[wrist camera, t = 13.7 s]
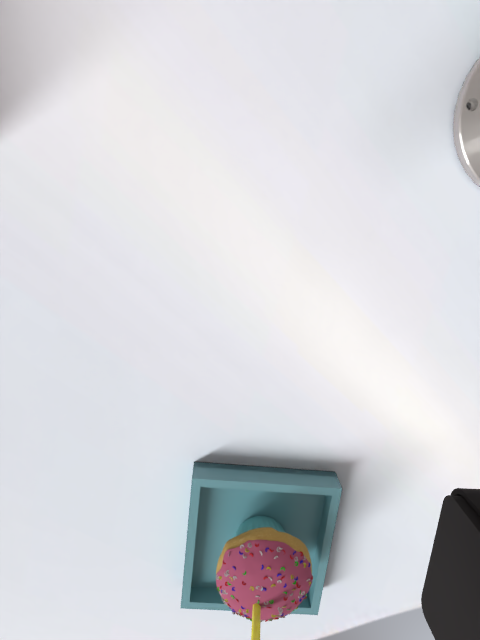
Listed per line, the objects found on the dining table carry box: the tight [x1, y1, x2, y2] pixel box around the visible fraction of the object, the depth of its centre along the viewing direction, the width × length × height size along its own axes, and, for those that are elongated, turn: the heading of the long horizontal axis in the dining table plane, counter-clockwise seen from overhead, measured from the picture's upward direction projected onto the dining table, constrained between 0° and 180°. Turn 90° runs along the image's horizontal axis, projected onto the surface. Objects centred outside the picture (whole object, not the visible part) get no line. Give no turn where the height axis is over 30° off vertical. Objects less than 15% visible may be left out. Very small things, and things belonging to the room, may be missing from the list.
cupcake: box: [216, 516, 313, 640], centre depth 34 cm, size 9×8×12 cm
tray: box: [181, 462, 342, 615], centre depth 40 cm, size 14×15×2 cm
